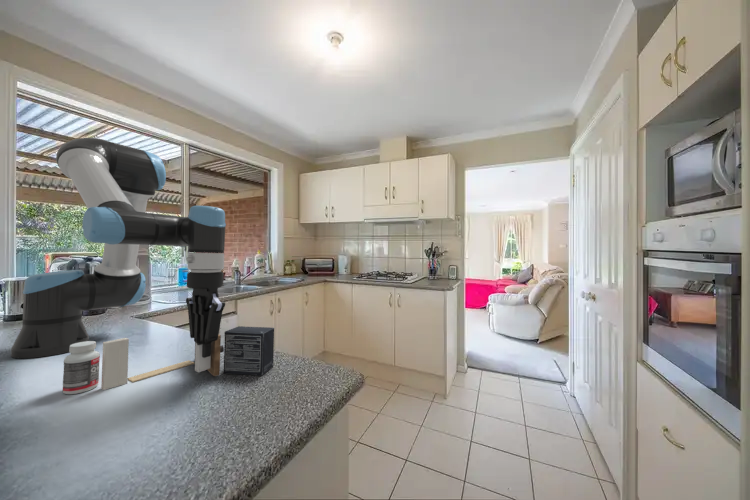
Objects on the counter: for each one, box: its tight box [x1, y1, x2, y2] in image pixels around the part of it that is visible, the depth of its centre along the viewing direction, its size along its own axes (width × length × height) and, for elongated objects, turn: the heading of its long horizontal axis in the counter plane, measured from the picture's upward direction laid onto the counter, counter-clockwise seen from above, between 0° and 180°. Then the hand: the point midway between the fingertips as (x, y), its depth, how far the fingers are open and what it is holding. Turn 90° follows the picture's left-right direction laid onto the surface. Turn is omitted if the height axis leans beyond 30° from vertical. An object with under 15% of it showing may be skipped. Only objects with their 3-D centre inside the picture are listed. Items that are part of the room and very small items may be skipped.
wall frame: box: [100, 327, 221, 391], centre depth 71 cm, size 3×25×11 cm, turn 149°
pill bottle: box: [62, 340, 101, 395], centre depth 60 cm, size 5×5×10 cm
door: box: [207, 334, 224, 377], centre depth 72 cm, size 2×14×10 cm, turn 47°
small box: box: [223, 325, 275, 376], centre depth 72 cm, size 11×6×10 cm, turn 84°
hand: (202, 369), depth 66 cm, fingers closed
